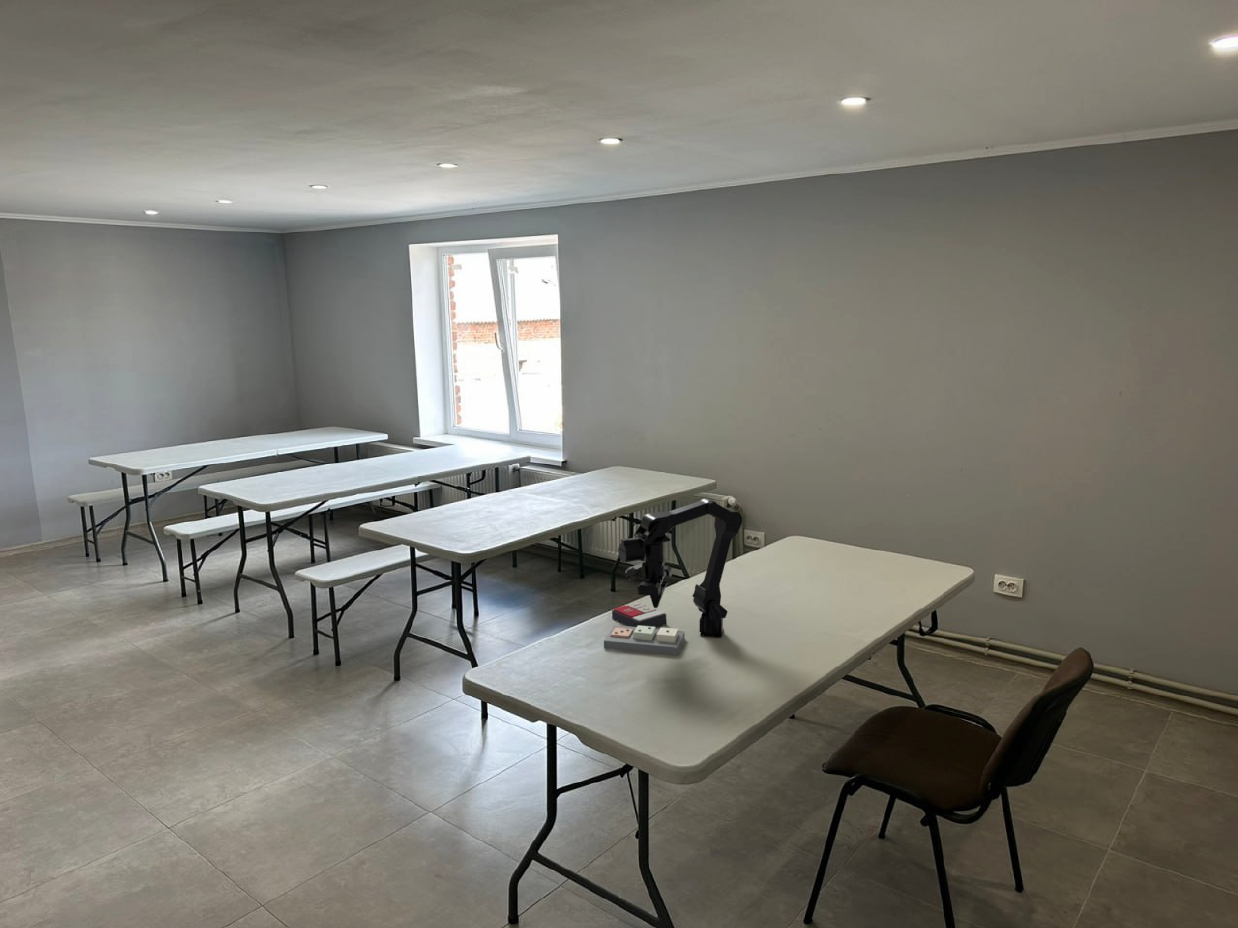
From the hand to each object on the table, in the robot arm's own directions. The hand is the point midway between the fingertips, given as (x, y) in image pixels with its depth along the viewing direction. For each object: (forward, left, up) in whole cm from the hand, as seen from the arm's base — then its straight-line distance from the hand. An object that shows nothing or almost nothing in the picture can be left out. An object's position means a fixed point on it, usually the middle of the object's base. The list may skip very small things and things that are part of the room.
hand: (655, 607), depth 237 cm
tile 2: (+3, 0, -10) cm, 10 cm away
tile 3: (+10, 0, -11) cm, 15 cm away
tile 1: (-4, 0, -10) cm, 10 cm away
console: (+3, 0, -12) cm, 12 cm away
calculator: (+9, -17, -12) cm, 23 cm away
